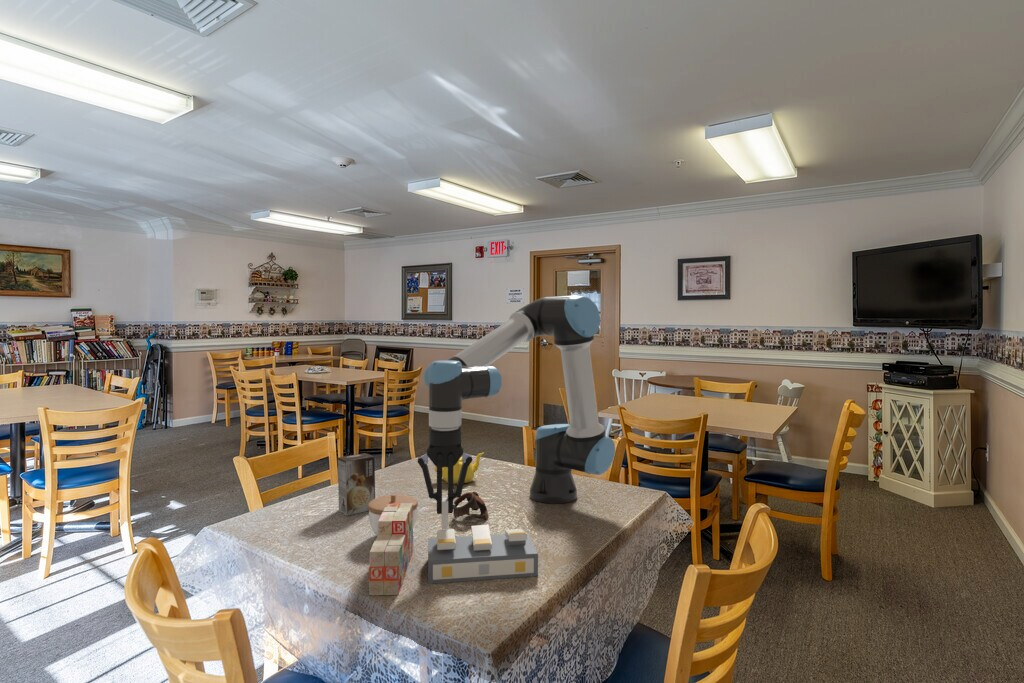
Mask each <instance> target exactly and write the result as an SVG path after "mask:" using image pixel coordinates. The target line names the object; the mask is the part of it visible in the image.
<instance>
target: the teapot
mask: <svg viewBox="0 0 1024 683" xmlns="http://www.w3.org/2000/svg"><path fill="white" fill-rule="evenodd" d="M484 454H485V452H480V453H478V454H477V455H476V457H475V462H474V463H472V462H471V463H470V465H469V466H468V469H467V473H466V477H465V481H464V484H467V483H471V482H472V481H473V479H474V477H475V473H476V472H477V471H478V470H479V466H480V459H481V457H482V456H483V455H484ZM462 463H463V462H462V456H461V458H460V459H459V460H458V462H457V463H456V464H455V465H454V466H453V485H455V484H456V485H457V483H458V479H459V475H460V471H461V467H462ZM434 471H435V472H436V473H437V467H436V466H435V465H434ZM442 480H443V481H444V482H445V483H446V484H448V467H443V468H442Z"/></svg>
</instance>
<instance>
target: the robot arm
mask: <svg viewBox="0 0 1024 683" xmlns="http://www.w3.org/2000/svg"><path fill="white" fill-rule="evenodd" d="M600 325H601V314H600V311H599V308H598V306H597V304H596V303H595V302H594V301H593V300H592V299H591V298H590V297H588V296H584V295H562V296H561V295H560V296H558V295H557V296H546V297H545V296H544V297H541V298H538V299H536V300H533V301H531V302H529V303H528V304H526V305H524V306H523V307H521V308H519V309H518V310H516V311H514V312H513V313H511V314H510V316H509V318H508V320H507V321H506V322H504V323H503V324H501V325H499V326H498V327H496V328H494V329H493V330H492V331H490V332H488V333H487V334H485V335H484V336H483V337H481V338H480V339H478V340H476V341H475V342H473V343H472V344H470V345H468V346H467V347H466V348H464V349H462V350H461V351H459V352H457V354H454V355H453V356H452V357H450V358H448V359H445V360H434V361H432V362H431V363H430V364H429V365H428V366H427V368H426V369H425V370H424V374H423V381H424V384H425V386H426V387H427V388H428V426H429V427H430V428H429V429H428V448H426V453H425V454H423V455H419V456H418V457H417V463H418V464H419V467H420V468H421V470H422V475H423V478H424V482H425V487H426V489H427V494H428V497H429V499H430V500H431V499H433V500H435V501H436V513H437V515H441V530H445V529H449V514H453V511H454V509H453V505H454V501H455V500H456V499H457V498H458V497H460V496H461V495H462V494H463V493H462V492H463V488H464V484H465V483H464V481H465V477H466V473H467V469H468V466H469V465H470V463H472V462H473V456H472V455H471V454H468V453H466V452H465V451H464V448H463V446H462V428H461V426H462V407H463V406H462V404H463V401H464V400H468V399H470V400H471V399H478V398H488V397H490V396H491V397H492V396H495V395H497V394H498V393H499V392H500V390H501V389H502V386H503V384H502V381H503V380H502V375H501V373H500V371H499V370H498V369H497V368H496V366H492V364H493V363H495V362H496V361H497V360H498V359H500V358H502V356H504V355H506V354H507V353H509V352H510V351H511V350H513V349H514V348H516V347H517V346H519V345H520V344H521V343H523V342H524V343H525V342H526V343H528V342H531V341H532V340H533V339H535V338H537V337H544V336H551V337H553V343H554V344H553V345H555V346H556V347H557V348H558V349H559V350H560V356H561V365H562V372H563V380H564V387H565V395H566V403H567V409H568V410H567V411H568V418H569V423H555V424H547V425H542V426H539V427H538V428H536V431H535V439H534V441H535V442H534V443H535V444H534V445H535V446H534V447H535V448H534V450H535V451H534V452H535V472H534V476H533V479H532V482H531V485H530V488H529V497H530V498H531V499H532V500H534V501H536V502H540V503H546V504H566V503H567V504H568V503H569V502H572V501H575V500H577V498H578V490H577V486H576V483H575V480H574V477H573V472H572V470H574V471H578V472H581V473H585V474H587V475H595V476H600V475H603V474H605V473H606V472H608V470H609V468H610V467H611V466H612V464H613V461H614V459H615V455H616V445H615V442H614V440H613V439H612V438H611V437H609V436H606V430H605V425H604V424H601V423H600V422H599V415H598V405H597V397H596V388H595V381H594V372H593V371H594V370H593V363H592V355H591V348H590V346H591V344H592V343H593V342H594V340H595V337H594V336H596V335H597V334H598V331H599V329H600V327H599V326H600ZM461 456H462V462H463V463H462V467H461V471H460V475H459V479H458V483H457V484H456V487H455V490H454V484H453V466H454V465H455V464H456V463H457V462H458V460H459V459H460V458H461ZM429 460H430V461H431V463H432V464H433V465H434V467H435V466H436V467H437V472H436V491H434V487H433V483H432V478H431V473H430V470H429V466H428V464H429ZM443 467H448V483H447V497H443V477H442V468H443Z"/></svg>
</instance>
